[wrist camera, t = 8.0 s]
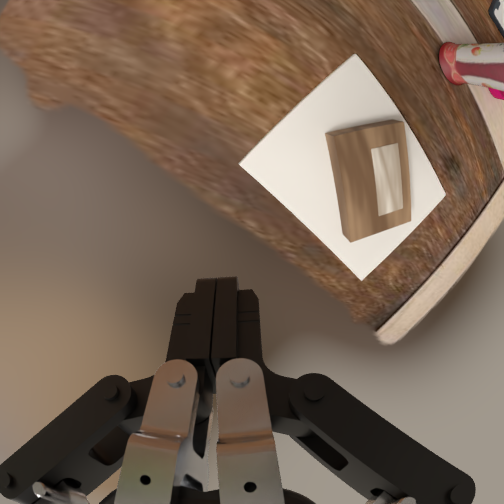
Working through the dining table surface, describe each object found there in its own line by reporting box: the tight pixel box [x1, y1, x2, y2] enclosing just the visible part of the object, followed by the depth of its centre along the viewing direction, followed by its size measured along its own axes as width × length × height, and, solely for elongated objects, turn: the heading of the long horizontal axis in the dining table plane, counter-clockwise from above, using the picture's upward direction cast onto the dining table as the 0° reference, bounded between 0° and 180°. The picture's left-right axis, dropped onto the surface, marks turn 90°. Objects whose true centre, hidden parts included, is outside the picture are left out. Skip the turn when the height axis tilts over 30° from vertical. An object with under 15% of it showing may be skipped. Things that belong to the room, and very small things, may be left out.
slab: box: [325, 119, 411, 243], centre depth 34 cm, size 3×14×10 cm
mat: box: [238, 54, 446, 281], centre depth 35 cm, size 20×26×1 cm
